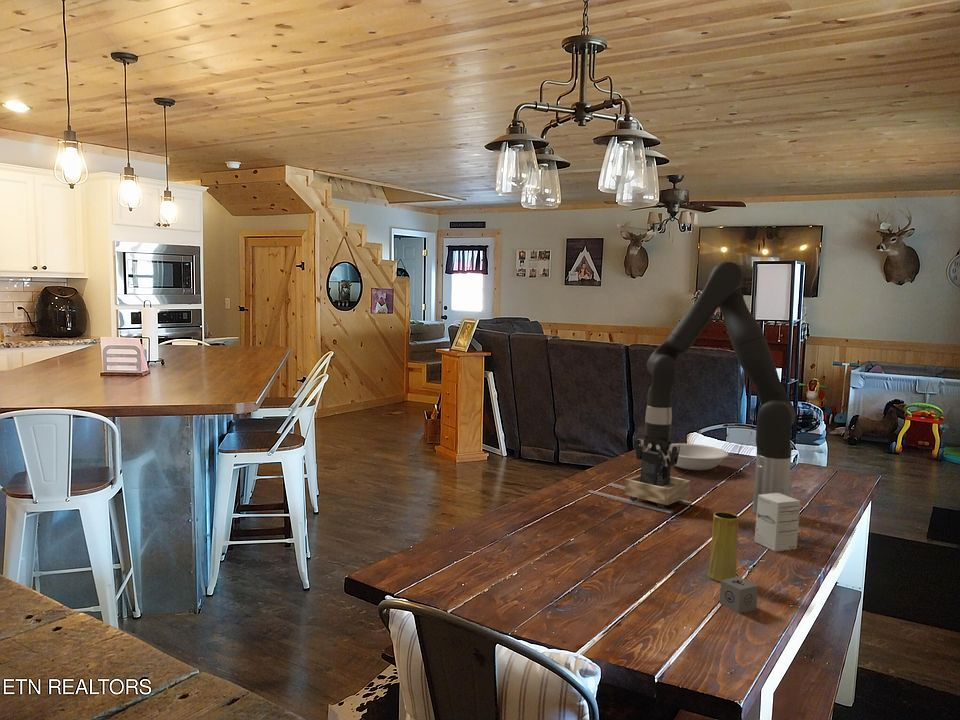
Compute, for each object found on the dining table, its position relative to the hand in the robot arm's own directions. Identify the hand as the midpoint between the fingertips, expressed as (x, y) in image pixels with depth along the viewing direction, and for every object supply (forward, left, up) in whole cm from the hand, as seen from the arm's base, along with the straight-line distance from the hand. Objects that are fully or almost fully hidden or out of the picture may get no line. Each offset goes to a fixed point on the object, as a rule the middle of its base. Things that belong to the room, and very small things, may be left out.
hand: (655, 476), depth 217 cm
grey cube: (-47, +53, -8) cm, 72 cm away
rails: (+5, 0, -8) cm, 9 cm away
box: (0, 0, -3) cm, 3 cm away
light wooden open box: (-1, 0, -8) cm, 8 cm away
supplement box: (-40, +11, -8) cm, 42 cm away
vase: (-39, +41, -8) cm, 57 cm away
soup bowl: (+11, -49, -8) cm, 51 cm away
